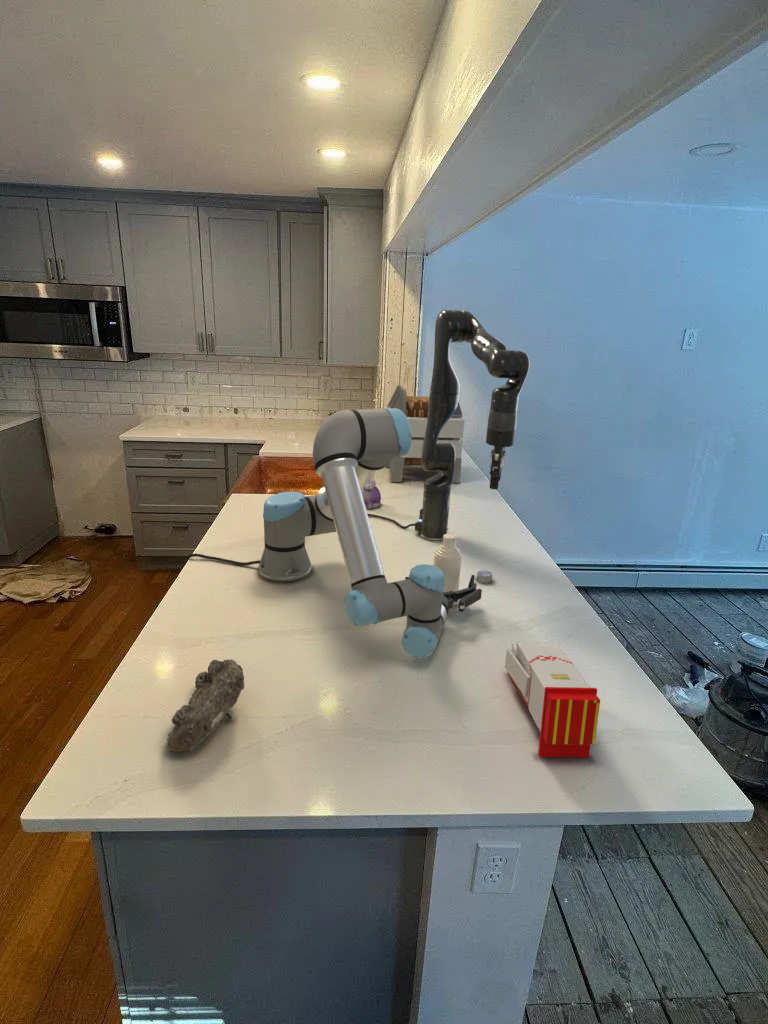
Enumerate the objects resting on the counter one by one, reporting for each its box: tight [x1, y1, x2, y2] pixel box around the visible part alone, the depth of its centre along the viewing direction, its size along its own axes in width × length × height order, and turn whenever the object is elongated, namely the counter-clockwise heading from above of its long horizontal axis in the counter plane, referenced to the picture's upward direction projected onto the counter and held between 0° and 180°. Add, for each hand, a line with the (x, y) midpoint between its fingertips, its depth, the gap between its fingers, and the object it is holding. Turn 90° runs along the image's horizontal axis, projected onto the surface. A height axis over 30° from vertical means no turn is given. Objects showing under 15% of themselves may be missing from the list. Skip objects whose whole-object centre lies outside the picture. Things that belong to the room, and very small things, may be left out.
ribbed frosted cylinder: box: [432, 533, 463, 592], centre depth 153 cm, size 8×8×19 cm
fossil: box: [166, 658, 245, 754], centre depth 106 cm, size 22×10×15 cm
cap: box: [476, 569, 493, 585], centre depth 168 cm, size 4×4×2 cm
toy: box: [504, 642, 601, 758], centre depth 113 cm, size 12×13×30 cm
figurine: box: [361, 473, 382, 510], centre depth 224 cm, size 9×10×15 cm
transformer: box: [385, 384, 465, 484], centre depth 268 cm, size 34×33×41 cm
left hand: (448, 575), depth 155 cm, fingers open, 13 cm apart
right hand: (494, 484), depth 158 cm, fingers open, 8 cm apart
